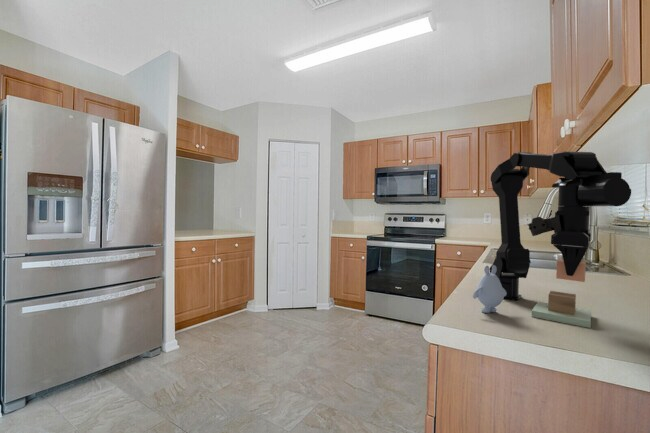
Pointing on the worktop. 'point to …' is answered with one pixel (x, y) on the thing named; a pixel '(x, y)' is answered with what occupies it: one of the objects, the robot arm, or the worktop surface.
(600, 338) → the worktop surface
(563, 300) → the walnut brick
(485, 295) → the toy figure
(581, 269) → the terracotta brick
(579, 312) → the base plate
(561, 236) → the robot arm
